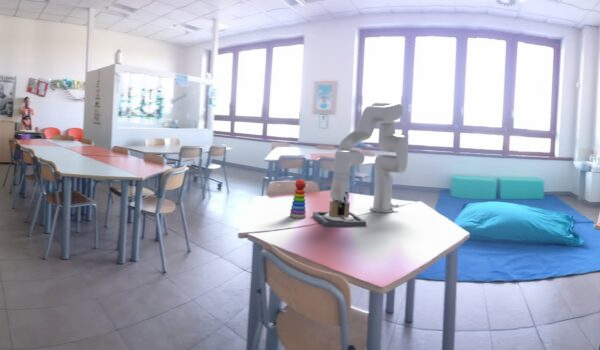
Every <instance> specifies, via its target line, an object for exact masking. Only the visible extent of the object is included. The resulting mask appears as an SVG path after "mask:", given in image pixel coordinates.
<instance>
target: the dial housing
mask: <svg viewBox="0 0 600 350" xmlns="http://www.w3.org/2000/svg"><path fill="white" fill-rule="evenodd" d="M327 213H329V211H312V217H313V218H314V219H316V220H317V222H319V223H320V224H321V225H323V226H324V227H325V228H333V227H334V228H335V227H336V228H338V227H340V228H341V227H342V228H343V227H344V228H345V227H348V228H349V227H366V226H367V220H365V219H363V218H361V217H359V216H358V215H356V214H354V213H353V212H352V211H349V215H351V216H353V220H352V221H331V220H327V219H325V218H324V215H325V214H327Z"/></svg>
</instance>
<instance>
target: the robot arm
mask: <svg viewBox="0 0 600 350" xmlns="http://www.w3.org/2000/svg"><path fill="white" fill-rule="evenodd" d="M403 113H404V108H403V105H402V103H400V102H393V101H392V102H388V101H385V102H384V101H383V102H382V101H381V102H380V101H379V102H374V103H373V104H371V105H369V106H366V107H365V108H364V110H363V111H362V113H361V116H360V119H359V121H358V123H357V124H356V126H355V129H354V130H353V131H351V132H349V134H347V135H346V136H345V137H344V138H343V139H342V140H341V141H340V142H339V145H338V146H337V150H336V151H335V154H334V164H333V178H332V181H331V185H330V186H331V187H330V198H331V199H332V201H339V206H340V207H339V208H338V215H344V212H345V207H346V204H348V203H349V198H350V172H351V166H353V167H358V166H361V165H362V164H364V161H365V154H364V153H363V152H362V151H360V150H357V149H356V150H355V149H351V148H352V147H353V146H354V145H356V144H358V143H361V142H364V141H367V140H368V139H370V138H371V137H372V135H373V131H374V130H375V128H376V125H377V124H378V149H379V150H380V151H382V152H387V153H380V154H378V155H377V156H376V157H375V158H374V159H375V160H374V166H375V167H374V168H375V179H374V189H373V190H374V195H373V204H372V206H370V207H369V208H370V211H373V212H375V213H385V214H387V213H389V214H390V213H393V212H394V208H399V207H400V205H399V204H398V203H393V202H392V196H393V195H392V193H393V184H394V183H393V182H394V179H393V175H392V173H395V174H403V173H405V172H406V170H407V168H408V158H409V157H408V156H409V155H408V154H409V141H408V139H407V137H406V136H405V135H401V134H396V124H395V121H396V120H399V119H400V118H401V117H402V116H403ZM388 153H390V154H388ZM391 153H394V154H391ZM342 202H343V203H342Z"/></svg>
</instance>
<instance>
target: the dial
mask: <svg viewBox="0 0 600 350" xmlns="http://www.w3.org/2000/svg"><path fill="white" fill-rule="evenodd" d="M348 202H349V201H348ZM342 203H343V202H342ZM350 205H351V204H350V202H349V203H348V204H346V207H345V212H344V215H338V208H339V207H340V206H339V201H333V200H331V201H329V207H328V209H329V211H328V212H329V213H327V214H325V215H324V218H325V219H327V220H331V221H352V220H353V216H351V215H349V212H350Z"/></svg>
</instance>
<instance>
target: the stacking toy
mask: <svg viewBox="0 0 600 350" xmlns="http://www.w3.org/2000/svg"><path fill="white" fill-rule="evenodd" d="M294 185H295V189H294V193H293V200H292V205H291V208H290V213H289V216H290V217H291V218H294V219H305V218H306V217H307V216H306V212H307V210H306V198H305V197H306V190H305V188H306V181H305V180H304V179H301V178H299V179H297V180H296V181H295V184H294Z"/></svg>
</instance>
